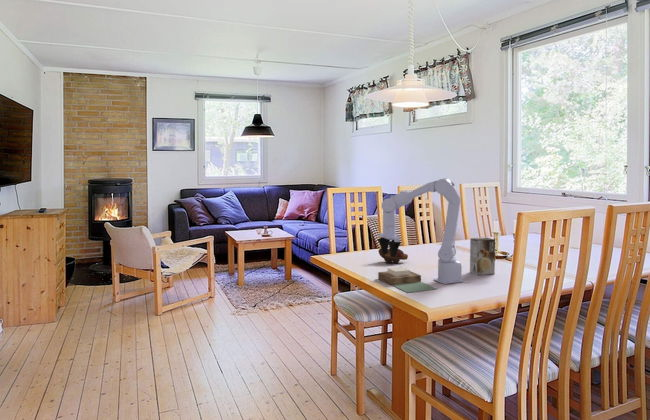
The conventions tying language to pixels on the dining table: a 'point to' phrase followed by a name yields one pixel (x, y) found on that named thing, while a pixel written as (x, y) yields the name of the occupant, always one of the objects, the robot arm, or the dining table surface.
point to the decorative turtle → (389, 259)
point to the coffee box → (482, 256)
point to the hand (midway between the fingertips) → (388, 255)
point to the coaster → (398, 271)
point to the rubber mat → (414, 287)
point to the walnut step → (398, 278)
